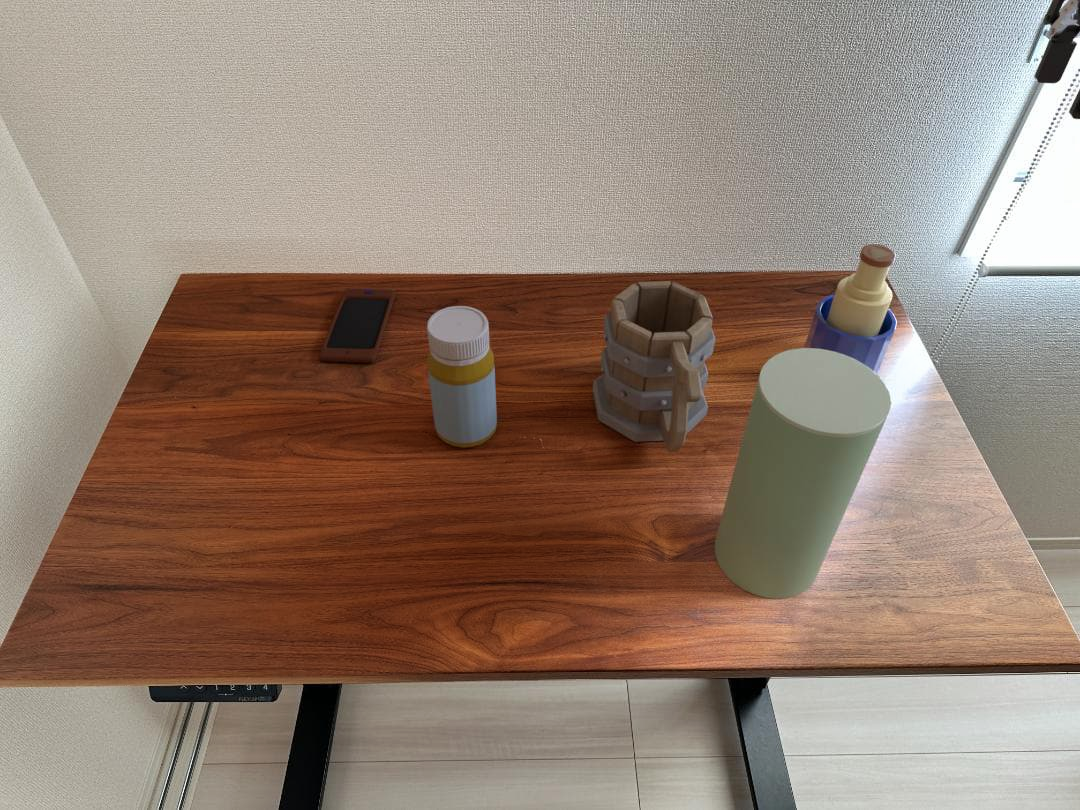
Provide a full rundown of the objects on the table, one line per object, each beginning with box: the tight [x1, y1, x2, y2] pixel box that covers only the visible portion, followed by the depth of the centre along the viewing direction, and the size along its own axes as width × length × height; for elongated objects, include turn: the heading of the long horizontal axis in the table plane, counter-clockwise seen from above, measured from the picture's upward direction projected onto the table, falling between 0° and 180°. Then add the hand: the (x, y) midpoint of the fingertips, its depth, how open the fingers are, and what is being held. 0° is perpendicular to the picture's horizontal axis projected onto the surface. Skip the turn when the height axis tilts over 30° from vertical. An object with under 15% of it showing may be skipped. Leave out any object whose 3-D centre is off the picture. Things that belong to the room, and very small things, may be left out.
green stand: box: [714, 347, 892, 600], centre depth 68 cm, size 10×10×22 cm
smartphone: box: [318, 288, 397, 364], centre depth 101 cm, size 7×1×15 cm
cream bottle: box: [826, 243, 897, 337], centre depth 90 cm, size 6×6×16 cm
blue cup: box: [803, 294, 898, 375], centre depth 93 cm, size 9×9×8 cm
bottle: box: [426, 305, 498, 449], centre depth 83 cm, size 7×7×15 cm
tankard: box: [592, 280, 716, 453], centre depth 83 cm, size 20×13×15 cm, turn 4°
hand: (1062, 98), depth 72 cm, fingers open, 8 cm apart
